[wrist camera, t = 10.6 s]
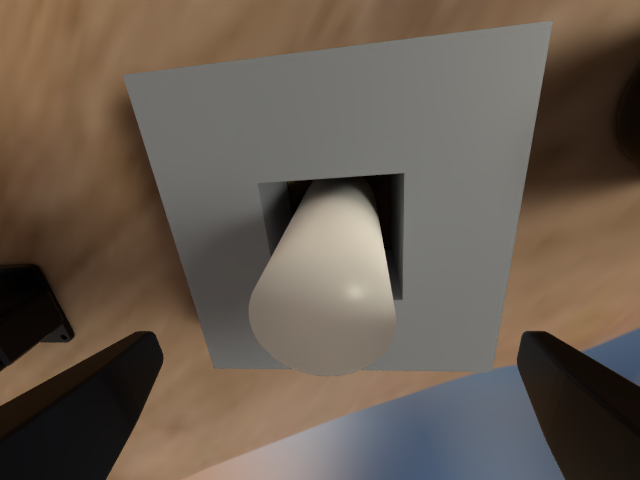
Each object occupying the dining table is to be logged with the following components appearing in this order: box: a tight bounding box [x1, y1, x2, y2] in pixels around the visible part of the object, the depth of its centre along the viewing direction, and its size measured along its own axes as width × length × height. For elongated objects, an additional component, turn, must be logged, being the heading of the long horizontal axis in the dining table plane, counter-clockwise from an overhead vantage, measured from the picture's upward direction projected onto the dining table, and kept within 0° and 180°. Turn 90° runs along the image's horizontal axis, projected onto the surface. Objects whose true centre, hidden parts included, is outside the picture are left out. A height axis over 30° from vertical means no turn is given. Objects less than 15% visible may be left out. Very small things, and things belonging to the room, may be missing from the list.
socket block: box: [123, 21, 553, 372], centre depth 15 cm, size 14×14×5 cm
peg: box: [249, 176, 396, 376], centre depth 13 cm, size 4×4×10 cm
